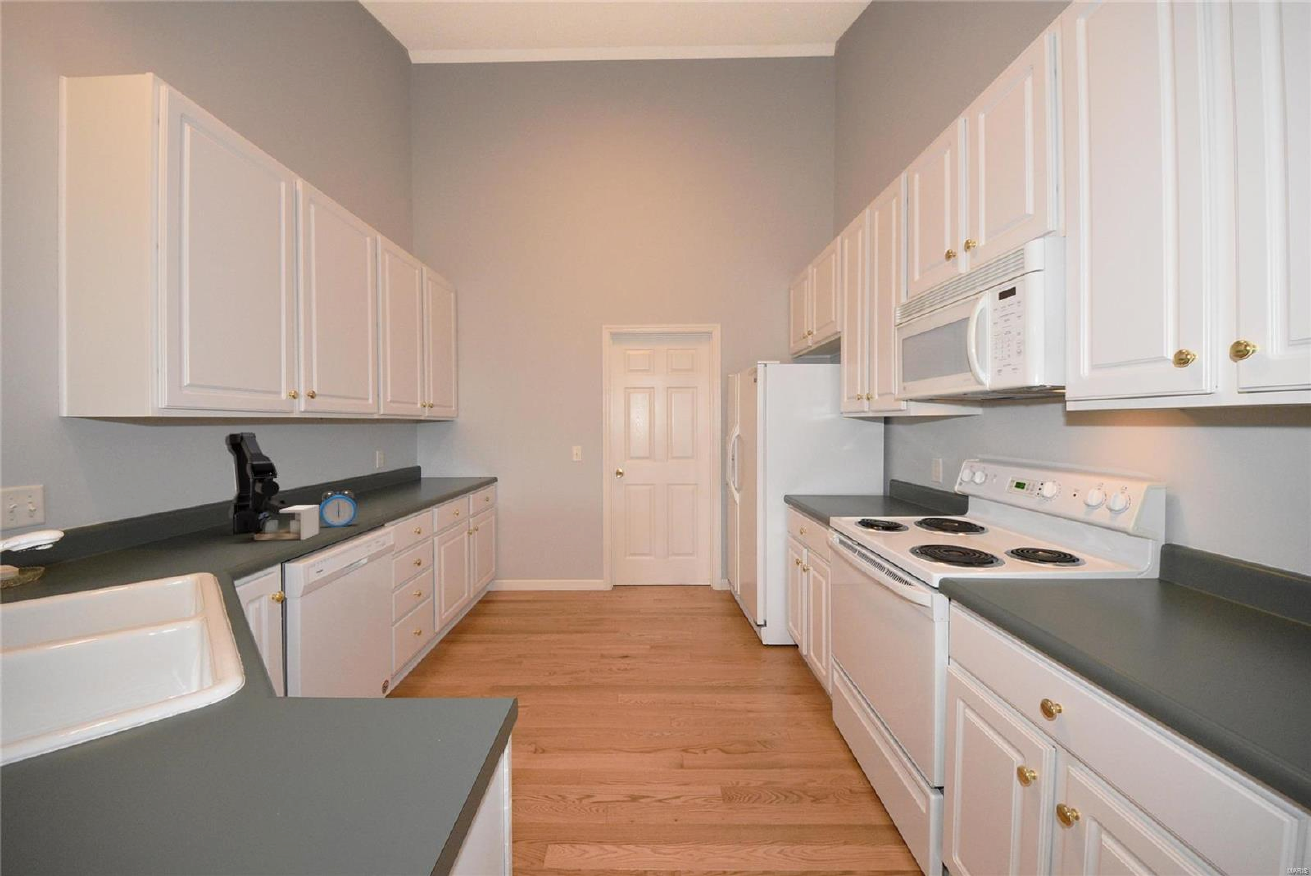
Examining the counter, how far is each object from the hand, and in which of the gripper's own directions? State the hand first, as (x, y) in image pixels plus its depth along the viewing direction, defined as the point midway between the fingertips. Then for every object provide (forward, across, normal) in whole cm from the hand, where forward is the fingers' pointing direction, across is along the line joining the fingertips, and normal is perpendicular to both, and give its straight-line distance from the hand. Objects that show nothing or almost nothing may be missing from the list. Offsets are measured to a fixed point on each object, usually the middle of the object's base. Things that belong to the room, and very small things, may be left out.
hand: (258, 536), depth 197 cm
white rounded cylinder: (0, 0, -13) cm, 13 cm away
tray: (+1, 0, -8) cm, 9 cm away
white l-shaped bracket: (+1, 0, -14) cm, 14 cm away
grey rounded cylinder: (0, 0, -4) cm, 4 cm away
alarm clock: (+1, +24, -18) cm, 30 cm away
